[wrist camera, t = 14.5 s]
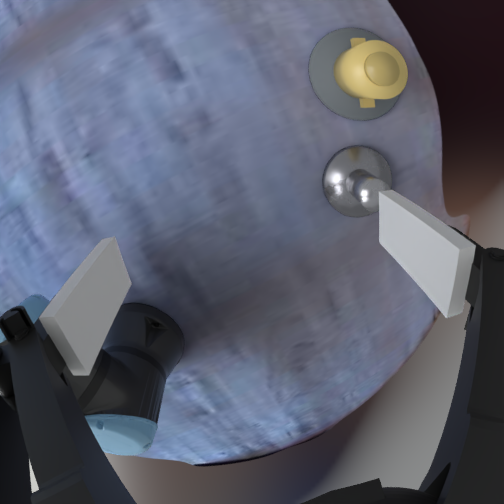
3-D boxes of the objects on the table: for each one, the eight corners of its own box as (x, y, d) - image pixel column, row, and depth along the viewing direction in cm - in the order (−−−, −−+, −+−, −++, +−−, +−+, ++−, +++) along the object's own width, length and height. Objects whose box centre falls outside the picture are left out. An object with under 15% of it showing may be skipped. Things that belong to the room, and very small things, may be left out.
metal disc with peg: (388, 209, 43) (410, 228, 37) (325, 218, 44) (338, 239, 37) (386, 143, 39) (411, 152, 32) (319, 149, 39) (333, 158, 33)
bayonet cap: (338, 108, 36) (359, 110, 29) (328, 40, 32) (346, 28, 25) (387, 106, 36) (415, 109, 29) (377, 41, 32) (404, 31, 25)
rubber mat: (403, 118, 37) (406, 118, 36) (315, 123, 38) (317, 123, 37) (392, 31, 31) (394, 30, 31) (301, 30, 32) (302, 28, 31)
